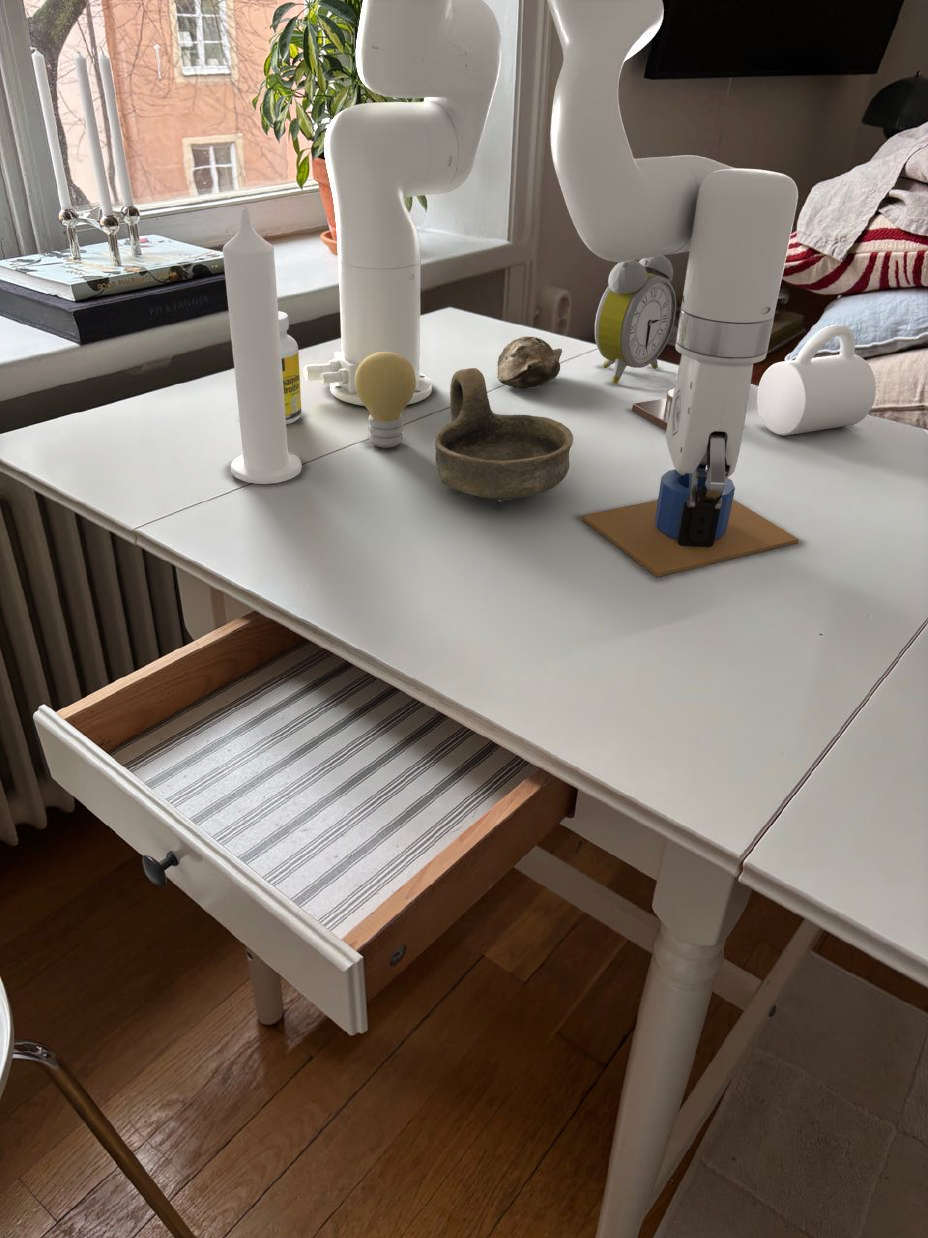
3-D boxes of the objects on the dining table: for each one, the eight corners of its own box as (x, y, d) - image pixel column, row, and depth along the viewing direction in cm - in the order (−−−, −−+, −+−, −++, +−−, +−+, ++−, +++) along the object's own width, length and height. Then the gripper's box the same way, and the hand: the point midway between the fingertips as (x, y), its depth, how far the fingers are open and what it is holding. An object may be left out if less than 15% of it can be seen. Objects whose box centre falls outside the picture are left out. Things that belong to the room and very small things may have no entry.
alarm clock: (620, 389, 123) (635, 267, 115) (577, 376, 126) (589, 257, 118) (669, 370, 130) (686, 254, 122) (627, 358, 134) (641, 245, 126)
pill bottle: (249, 430, 107) (239, 325, 100) (241, 410, 112) (231, 309, 106) (307, 425, 108) (301, 321, 102) (296, 405, 114) (290, 306, 107)
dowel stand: (676, 437, 109) (687, 368, 105) (631, 411, 116) (640, 345, 112) (738, 426, 113) (751, 359, 108) (690, 401, 119) (701, 337, 115)
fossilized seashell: (531, 382, 116) (582, 378, 123) (519, 328, 116) (570, 327, 123) (488, 399, 122) (539, 395, 129) (476, 348, 121) (527, 347, 128)
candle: (308, 459, 100) (294, 202, 87) (292, 486, 94) (273, 216, 81) (243, 454, 101) (218, 198, 88) (222, 481, 95) (192, 211, 82)
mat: (656, 577, 82) (657, 573, 82) (581, 518, 91) (581, 515, 90) (798, 542, 88) (799, 539, 88) (714, 491, 97) (715, 487, 97)
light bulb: (425, 439, 106) (426, 349, 101) (398, 459, 101) (397, 366, 96) (375, 428, 108) (373, 340, 103) (345, 447, 103) (342, 356, 98)
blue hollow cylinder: (683, 547, 85) (691, 501, 83) (641, 518, 90) (648, 473, 88) (739, 534, 88) (749, 489, 85) (695, 506, 93) (703, 463, 90)
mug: (750, 421, 114) (770, 319, 108) (817, 411, 118) (840, 312, 112) (797, 446, 108) (822, 340, 102) (866, 435, 112) (894, 331, 105)
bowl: (468, 532, 87) (472, 429, 82) (399, 461, 101) (399, 367, 95) (597, 510, 92) (609, 411, 87) (516, 444, 106) (522, 355, 100)
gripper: (665, 305, 87) (640, 486, 97) (692, 363, 72) (659, 570, 82) (748, 309, 87) (714, 490, 96) (792, 368, 72) (747, 575, 82)
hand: (689, 525), depth 89 cm, fingers closed on blue hollow cylinder, 6 cm apart
